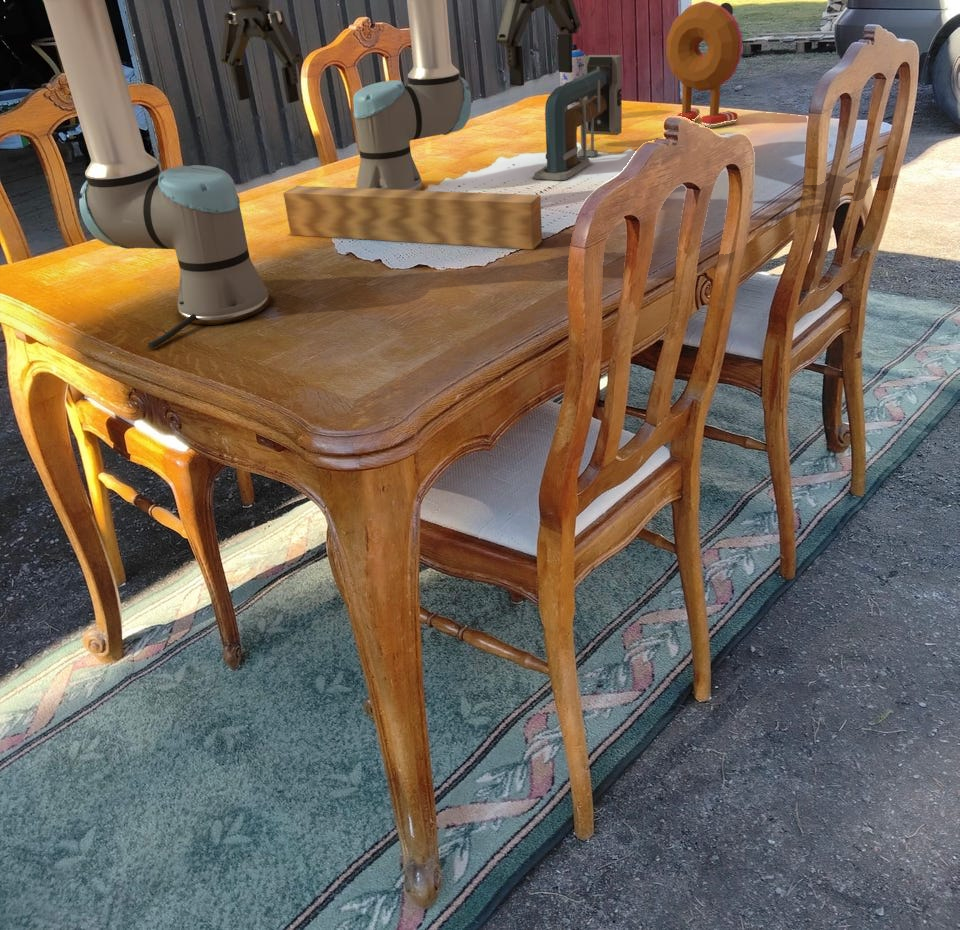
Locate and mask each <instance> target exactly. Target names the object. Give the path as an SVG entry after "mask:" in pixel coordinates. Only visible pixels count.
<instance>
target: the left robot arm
mask: <svg viewBox="0 0 960 930" xmlns="http://www.w3.org/2000/svg"><path fill="white" fill-rule="evenodd" d="M42 2H43V4H44V7H45V11H46V14H47V18H48V21H49V24H50V27H51V31H52V34H53V38H54V41H55V44H56V48H57V51H58V54H59V57H60V61H61V64H62V68H63V72H64V74H65V78H66V81H67V85H68V89H69V91H70V94H71V99H72V101H73V104H74V108H75V111H76V114H77V118H78V121H79V124H80V128H81V131H82V135H83V138H84V141H85V144H86V148H87V151H88V154H89V158H90V163H89V165H88V166H87V168H86V170H85V172H84V175H85V179H86V180H85V182H84V183H83V184H82V185H81V189H80V191H79V194H80V196H81V197H80V198H79V199H78V204H79V211H80V215H81V218H82V220H83V223H84V225H85V227H86V228H87V230H88V231H89V232H90V234H91V235H92V236H93V237H94V238H95V239H96V240H98V241H100V242H101V243H103V244H105V245H107V246H111V247H117V248H118V247H119V248H122V249H126V250H127V249H128V250H131V249H132V250H133V249H151V250H152V249H153V250H155V249H156V250H175V254H176V258H177V262H178V266H179V283H178V294H177V310H178V314H179V318H180V319H182V320H181V322H179V323H178V324H177V325H175V326H174V327H172V328H171V329H170V330H168V331H167V332H166V333H164V334H162V335H161V336H159V337H157V338H156V339H154V340H152V341H149V342H148V344H147V346H148V348H149V349H155V348H156V347H158V346H160V345H161V344H164V343H166V342H167V341H168V340H169V339H171V338H172V337H174V336H175V335H176V334H177V333H179V332H180V331H182V330H183V329H184V328H186V327H187V326H188V325H190V324H193V325H202V326H203V325H204V326H205V325H206V326H210V325H222V324H230V323H233V322H239V321H241V320H245V319H248V318H251V317H253V316H256V315H258V314H260V312H263V311H264V310H265V309H266V308H267V307H268V306H269V305H270V296H269V292H268V290H267V287H266V284H265V283H264V282H263V280H262V278H261V276H260V274H259V272H258V270H257V269H256V267H255V265H254V264H253V262H252V260H251V257H250V251H249V246H248V241H247V240H248V239H247V236H246V231H245V226H244V225H245V224H244V220H243V216H242V210H241V206H240V203H241V201H240V200H241V199H240V196H239V194H238V192H237V188H236V184H235V181H234V179H233V178H232V176H231V175H230V173H228V172H227V171H225V170H224V169H221V168H218V167H216V166H215V167H214V166H210V165H199V164H193V165H177V166H173V167H169V168H166V169H164V170H162V171H161V169H160V165H159V161H158V159H156V157H154V156H152V155H151V154H149V153H147V151H146V149H145V146H144V142H143V137H142V134H141V131H140V127H139V123H138V120H137V116H136V112H135V108H134V105H133V101H132V97H131V93H130V89H129V86H128V82H127V79H126V75H125V72H124V67H123V64H122V59H121V56H120V53H119V49H118V48H119V47H118V45H117V41H116V37H115V33H114V31H113V26H112V22H111V19H110V15H109V11H108V7H107V4H106V0H42ZM270 4H271V0H230V5H231V8H233V9H235V10H234V11H228V12H224V13H223V22H224V28H223V36H222V44H221V51H220V57H219V58H220V61H221V63H222V64H224V63H225V64H227V65H228V66H229V68H230V69H229V70H230V73H231V78H232V79H231V80H232V81H233V83H234V85H235V91H236V95H237V100H238V101H245V100H248V99H251V94H250V90H249V85H248V79H247V74H246V69H245V68H246V67H245V64H243V61H242V59H243V56H244V54H245V51H246V49H247V46H248V44H249V41H250V39H251V38H261V39H262V40H264V41H265V42H266V43H267V45H268V46H269V47H270V49H271V50H272V51H273V53H274V54H275V55H276V57H277V58H278V59H279V61H280V62H281V64H282V67H281V69H280V70H281V74H282V79H283V85H284V92H285V97H286V103H287V104H292V103H295V102H299V101H300V97H299V89H298V84H299V78H298V71H297V65H298V64H300V63H303V61H304V56H303V55H302V53H301V51H300V49H299V47H298V45H297V43H296V41H295V39H294V37H293V35H292V33H291V31H290V29H289V27H288V25H287V23H286V18H285V15H284V12H283V10H276V11H271V10H270V8H269V7H270Z"/></svg>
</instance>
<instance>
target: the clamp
mask: <svg viewBox="0 0 960 930" xmlns="http://www.w3.org/2000/svg"><path fill="white" fill-rule="evenodd" d="M622 58H623V56H622V55H621V54H589V55H586V57H585V75H583V76H581V77H579V78H577V79H575V80H573V81H570V82H568V83H566V84H564V85H562V86H560V85H559V86H557V87H555V88H554V89H553V91H552V92H551V93H550V94H549V95H548V96H547V99H546V101H545V107H544V120H545V121H544V122H545V123H544V124H545V146H546V147H545V149H546V150H545V151H546V154H545V160H546V165H545V166H544V167H542V168H541V169H538V170H537V171H535V172H534V174H533V176H532V178H533V179H536V180H549V181H551V180H552V181H564V180H568V179H570V178H571V177H572V176H574V175H576V174H577V173H579V172H580V171H582V170H584V169H585V168H587V167H588V166H591V161H590V158H589V157H593V158H594V157H595V156H598V155H599V153H598V150H597V149H595V135H602V136H603V135H605V136H619V135H620V134H621V133H622V129H623V128H622V127H623V125H622V122H623V121H622V120H623V117H622V116H623V115H622V108H623V107H622V104H623V103H622V98H623V95H622V91H623V89H622V87H623V86H622V85H623V82H622V81H623V79H622V78H623V76H622V75H623V74H622V73H623V72H622V71H623V70H622V69H623V68H622V67H623V65H622V61H623V59H622ZM574 102H580V104H578V105H576V106H574V107H572V108H570V109H568V105H570V104H572V103H574ZM579 127H580V148H581V149H580V150H579V149H578V134H577V133H578V128H579ZM587 135H590V149H587Z"/></svg>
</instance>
